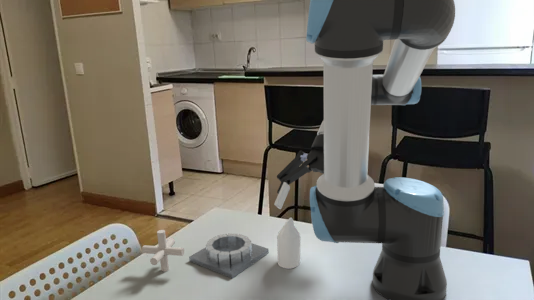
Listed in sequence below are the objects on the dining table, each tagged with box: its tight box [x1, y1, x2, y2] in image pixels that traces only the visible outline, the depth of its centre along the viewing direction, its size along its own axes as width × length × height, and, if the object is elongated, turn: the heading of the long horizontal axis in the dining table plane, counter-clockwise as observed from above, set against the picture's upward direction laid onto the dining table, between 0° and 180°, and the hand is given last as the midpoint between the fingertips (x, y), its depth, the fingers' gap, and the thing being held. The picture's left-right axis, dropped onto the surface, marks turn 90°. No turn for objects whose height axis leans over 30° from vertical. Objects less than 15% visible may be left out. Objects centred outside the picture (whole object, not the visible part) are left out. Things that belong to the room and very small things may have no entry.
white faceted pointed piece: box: [276, 217, 302, 270], centre depth 104 cm, size 6×12×6 cm
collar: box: [188, 233, 270, 279], centre depth 109 cm, size 14×14×4 cm
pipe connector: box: [141, 229, 185, 272], centre depth 103 cm, size 10×10×10 cm
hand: (299, 212), depth 108 cm, fingers open, 13 cm apart
